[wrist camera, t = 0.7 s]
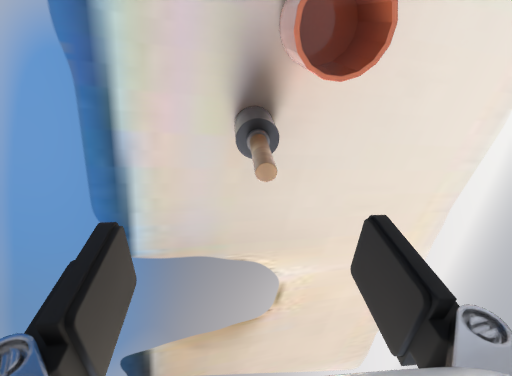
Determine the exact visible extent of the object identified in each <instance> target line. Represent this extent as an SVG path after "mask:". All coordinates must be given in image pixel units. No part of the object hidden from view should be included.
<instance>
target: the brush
mask: <svg viewBox="0 0 512 376" xmlns="http://www.w3.org/2000/svg"><path fill="white" fill-rule="evenodd" d="M235 136H236V144H237V147H238V149H239V151H240V152H241V153H242V154H243V155H244V156H246V157H248V158H251V159H253V165H254V170H255V175H256V177H257V179H258V180H260V181H262V182H269V181H271V180H273V179H274V178H275V177H276V175H277V168H276V165H275V162H274V159H273V156H272V153H273V152H274V151H275V150H276V148H277V146H278V143H279V133H278V130H277V128H276V126H275V123H274V121H273V119H272V117H271V115H270V113H269V112H268V111H267V110H265V109H264V108H262V107H258V106H251V107H247V108H245V109H243V110H242V111H241V112H240V113H239V114H238V116H237V118H236V120H235Z"/></svg>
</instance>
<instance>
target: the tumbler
mask: <svg viewBox="0 0 512 376" xmlns="http://www.w3.org/2000/svg"><path fill="white" fill-rule="evenodd" d="M397 21H398V0H286V1H285V3H284V5H283V8H282V11H281V16H280V24H279V26H280V37H281V41H282V44H283V47H284V49H285V50H286V52H287V54H288V55H289V56H290V58H291V59H292V60H293V61H295V62H296V63H298V64H299V65H301V66H302V67H304V68H305V69H307V70H309V71H310V72H312V73H313V74H315V75H317V76H318V77H320V78H321V79H323V80H330V81H338V82H342V81H345V80H349V79H352V78H355V77H359V76H361V75H362V74H363V73H365V72H366V71H367V70H369V69H370V68H371V67H373V66H374V65H375V64H376V63H377V62H378V61H379V59H380V58H381V57H382V55H383V54H384V52H385V51H386V50H387V48H388V47H389V45H390V43H391V40H392V37H393V34H394V31H395V28H396V25H397Z"/></svg>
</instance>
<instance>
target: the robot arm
mask: <svg viewBox="0 0 512 376" xmlns="http://www.w3.org/2000/svg"><path fill="white" fill-rule="evenodd" d="M351 274H352V276H353V278H354V280H355V282H356V284H357V286H358V288H359V290H360V292H361V294H362V296H363V298H364V300H365V302H366V304H367V306H368V308H369V310H370V312H371V314H372V316H373V318H374V320H375V322H376V324H377V326H378V328H379V330H380V332H381V334H382V336H383V338H384V340H385V342H386V344H387V346H388V348H389V350H390V352H391V353H392V354H393V355H394V356H397V358H398V360H399V362H400V364H401V366H407V365H416V364H417V366H418V368H419V369H406V370H390V371H378V372H366V373H354V374H342V375H331V376H512V331H511V329H510V328H509V327H508V325H507V324H506V323H505V322H504V321H503V320H502V319H501V318H499V317H498V316H496V315H495V314H494V313H492V312H490V311H488V310H486V309H485V308H482V307H479V306H476V305H469V304H468V305H462V306H461V307H460V306H459V305H458V304H457V302H456V298H455V297H454V295H453V294H452V293H451V292H450V291H449V289H448V288H447V287H446V286H445V285H444V283H443V282H442V281H441V280H440V279H439V278H438V276H437V275H436V274H435V273H434V272H433V270H432V269H431V268H430V267H429V266H428V264H427V263H426V262H425V261H424V260H423V258H422V257H421V256H420V255H419V254H418V252H417V251H416V250H415V249H414V248H413V246H412V245H411V244H410V243H409V242H408V241H407V239H406V238H405V237H404V236H403V235H402V233H401V232H400V231H399V230H398V229H397V227H396V226H395V225H394V224H393V223H392V221H391V220H390V219H389V218H388V217H387V216H386V215H371V216H369V218H368V219H366V220H365V221H364V224H363V227H362V231H361V234H360V237H359V241H358V244H357V248H356V251H355V254H354V258H353V261H352V264H351ZM135 286H136V275H135V270H134V266H133V263H132V258H131V255H130V251H129V247H128V243H127V239H126V235H125V231H124V228H123V226H119V225H118V223H116V222H107V223H99V224H98V225H97V226H96V228H95V229H94V231H93V233H92V234H91V236H90V238H89V239H88V240H87V242H86V244H85V246H84V247H83V249H82V250H81V252H80V253H79V255H78V256H77V258H76V260H73V261H72V262H70V264H69V265H68V266H67V268H66V269H65V271H64V272H63V274H62V275H61V277H60V279H59V280H58V282H57V283H56V285H55V286H54V288H53V289H52V291H51V292H50V294H49V296H48V297H47V299H46V300H45V302H44V303H43V305H42V306H41V308H40V310H39V311H38V313H37V314H36V316H35V317H34V319H33V320H32V322H31V324H30V325H29V327H28V328H27V330H26V331H25V333H24V334H13V335H9V336H6V337H3V338H1V339H0V376H105V375H106V372H107V369H108V367H109V364H110V361H111V358H112V355H113V352H114V349H115V346H116V343H117V340H118V336H119V334H120V331H121V328H122V325H123V322H124V319H125V316H126V313H127V310H128V307H129V304H130V301H131V298H132V295H133V292H134V289H135ZM329 376H330V375H329Z"/></svg>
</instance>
